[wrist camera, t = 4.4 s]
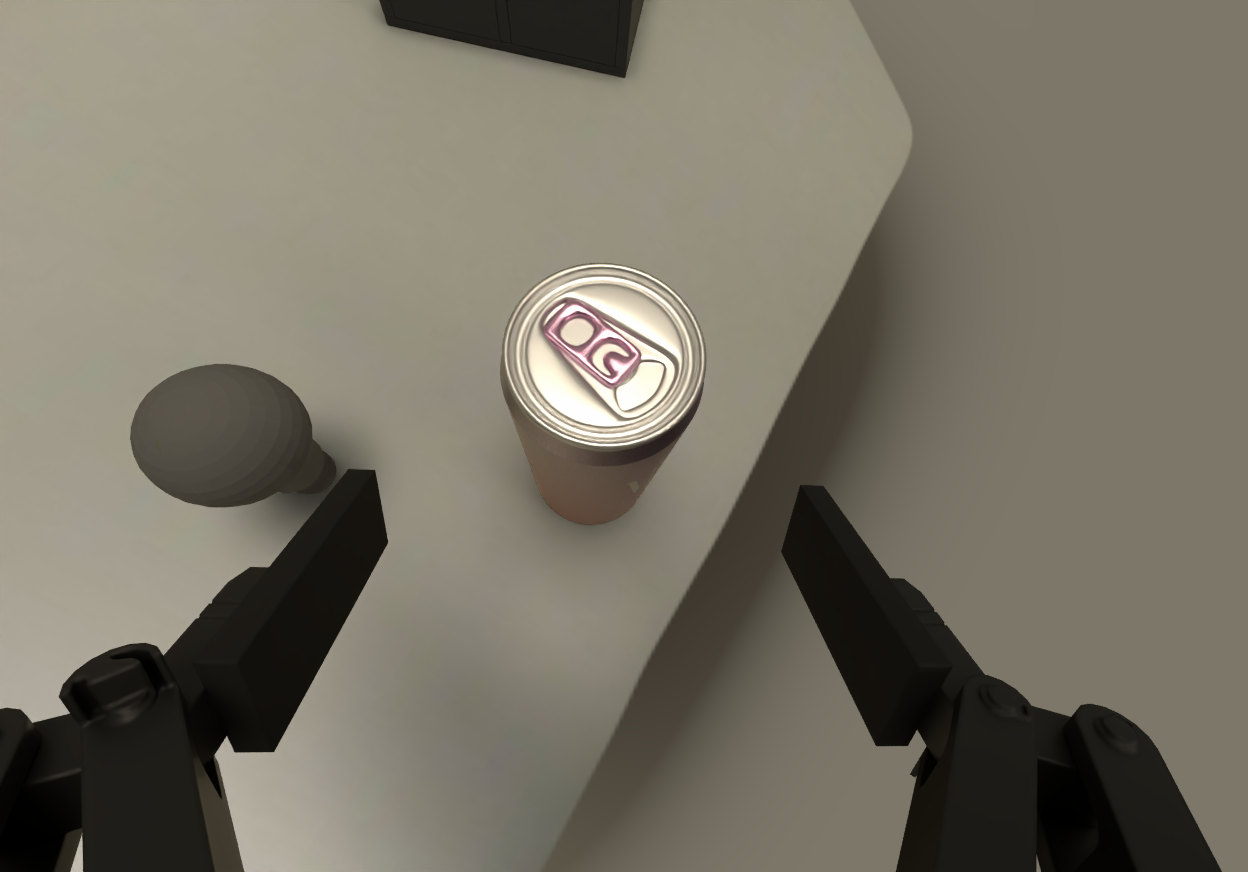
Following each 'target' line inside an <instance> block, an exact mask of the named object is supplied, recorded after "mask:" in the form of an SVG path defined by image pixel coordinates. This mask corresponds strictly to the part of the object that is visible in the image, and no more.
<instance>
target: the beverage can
mask: <svg viewBox="0 0 1248 872" xmlns="http://www.w3.org/2000/svg"><path fill="white" fill-rule="evenodd" d="M705 371H706V348H705V342H704V338H703V334H702V331H701V328H700V326H699V323H698V321H697V319H696V317H695V316H694V314H693V312H692V311H691V309H690V308H689V306H688V305H687V304H686V302H685V301H684V300H683V299H682V298H681V297H680V296H679V295H678V294H677V293H676V292H675V291H674V290H673V289H672V288H671V287H669V286H668V285H667V284H665V283H664V282H663V281H661V280H659V279H658V278H656V277H654V276H652V275H650V274H648V273H646V272H644V271H641V270H639V269H636V268H632V267H629V266H625V265H619V264H612V263H590V264H582V265H577V266H573V267H570V268H567V269H564V270H561V271H559V272H556V273H554V274H552V275H550V276H548V277H547V278H545V279H544V280H542V281H541V282H539V283H538V284H537V285H535V286H534V287H533V288H532V289H531V290H530V291H529V292H528V293H527V294H526V295H525V296H524V297H523V298H522V299H521V300H520V302H519V303H518V304H517V306H516V307H515V309H514V311H513V312H512V314H511V316H510V318H509V321H508V323H507V326H506V329H505V333H504V338H503V344H502V356H501V364H500V376H501V385H502V390H503V394H504V397H505V400H506V403H507V405H508V408H509V411H510V413H511V416H512V419H513V421H514V424H515V427H516V429H517V432H518V435H519V437H520V440H521V443H522V445H523V448H524V451H525V453H526V456H527V458H528V461H529V464H530V466H531V469H532V472H533V474H534V477H535V480H536V482H537V485H538V488H539V490H540V492H541V495H542V496H543V498H544V500H545V501H546V503H547V504H548V505H549V506H550V507H551V508H552V509H553V510H554V511H555V512H556V513H558V514H559V515H560V516H562V517H564V518H566V519H568V520H570V521H573V522H576V523H580V524H590V525H592V524H602V523H606V522H609V521H612V520H614V519H616V518H618V517H620V516H622V515H623V514H625V513H626V512H627V511H628V510H629V509H630V508H631V507H632V506H633V505H634V504H635V503H636V501H637V500H638V498H639V497H640V495H641V494H642V492H643V491H644V490H645V488H646V487H647V485H648V484H649V482H650V481H651V479H652V478H653V476H654V475H655V473H656V472H657V470H658V469H659V467H660V466H661V465H662V463H663V462H664V460H665V459H666V457H667V456H668V454H669V453H670V451H671V450H672V448H673V447H674V445H675V444H676V442H677V441H678V440H679V438H680V437H681V435H682V434H683V432H684V431H685V429H686V428H687V426H688V425H689V423H690V422H691V420H692V418H693V417H694V415H695V413H696V411H697V408H698V406H699V403H700V400H701V396H702V392H703V385H704V377H705Z"/></svg>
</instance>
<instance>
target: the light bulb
mask: <svg viewBox="0 0 1248 872" xmlns="http://www.w3.org/2000/svg"><path fill="white" fill-rule="evenodd" d="M130 440H131V445H132V450H133V454H134V457H135V459H136V461H137V464H138V466H139V468H140V469H141V470H142V471H143V473H144V474H145V475H146V476H147V478H148V479H149V480H150V481H151V482H152V483H154V484H155V485H156V486H157V487H159V488H160V489H162V490H163V491H164V492H166V493H168V494H169V495H171V496H173V497H175V498H178V499H180V500H182V501H185V502H188V503H192V504H197V505H202V506H207V507H234V506H241V505H247V504H252V503H254V502H257V501H260V500H263V499H265V498H267V497H269V496H271V495H273V494H275V493H277V492H282V493H292V492H297V493H303V494H315V493H318V492H321V491H322V490H324V489H325V488H327V487H328V486H329V485H330V484H331V482H332V481H333V479H334V476H335V472H336V466H335V463H334V461H333V459H332V458H331V457H330V456H329V455H328V454H327V453H325V452H324V451H322V449H321V448H320V446H319V445H318V444H317V442H316V441H314V440H313V439H312V424H311V421H310V417H309V414H308V412H307V410H306V408H305V407H304V405H303V403H302V402H301V400H300V399H299V397H298V396H297V395H296V394H295V393H294V392H293V391H292V390H291V388H289V387H288V386H286V385H285V384H284V383H282V382H281V381H279V380H278V379H276V378H275V377H273V376H271V375H269V374H266V373H264V372H261V371H259V370H256V369H253V368H248V367H244V366H238V365H230V364H213V365H205V366H199V367H195V368H191V369H188V370H185V371H181V372H179V373H177V374H175V375H173V376H171V377H169V378H167V379H166V380H164V381H163V382H161V383H160V384H158V385H157V386H156V387H154V388H153V389H152V390H151V391H150V392H149V393H148V394H147V395H146V396H145V398H144V399H143V400H142V402H141V403H140V405H139V407H138V409H137V410H136V412H135V415H134V419H133V422H132V426H131V436H130Z"/></svg>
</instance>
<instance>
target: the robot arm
mask: <svg viewBox="0 0 1248 872" xmlns="http://www.w3.org/2000/svg"><path fill="white" fill-rule="evenodd" d="M387 544H388V539H387V533H386V528H385V522H384V517H383V511H382V505H381V500H380V494H379V489H378V483H377V478H376V472H375V470H356V469H348V470H347V472H346V473H345V474H344V475H343V477H342V478H341V479H340V480H339V481H338V483H337V484H336V485H335V486H334V488H333V489H332V490H331V491H330V493H329V494H328V495H327V496H326V498H325V499H324V500H323V501H322V502H321V504H320V505H319V506H318V507H317V509H316V510H315V511H314V512H313V514H312V515H311V516H310V517H309V519H308V520H307V521H306V522H305V523H304V525H303V526H302V527H301V528H300V530H299V531H298V532H297V533H296V535H295V536H294V537H293V538H292V540H291V541H290V542H289V543H288V545H287V546H286V547H285V548H284V549H283V551H282V552H281V553H280V554H279V556H278V557H277V558H276V559H275V561H274V562H273V563H272V564H271V566H270V567H250V568H248V569H247V570H245V571H244V572H242V573H241V574H240V575H238V576H237V577H235V578H234V579H232V580H231V581H229V582H228V583H227V584H226V585H225V586H224V587H223V589H222V590H221V591H220V592H219V593H218V594H217V595H216V597H215V598H214V599H213V600H212V604H208V606H207V607H206V608H205V609H204V610H203V611H202V612H201V614H200V617H199V618H196V619H195V620H194V622H193V623H192V624H191V625H190V626H189V627H188V628H187V630H186V631H185V632H184V633H183V634H182V635H181V636H180V637H179V639H178V640H177V641H176V642H175V643H174V644H173V645H172V647H171V648H170V649H169V650H168V651H167V652H166V653H165V655H164V656H163V655H162V653H161V651H160V650H159V649H158V647H157V646H154V645H151V644H148V643H138V644H128V645H125V646H121V647H118V648H115V649H111V650H109V651H107V652H105V653H103V654H101V655H99V656H97V657H95V658H93V659H91V660H90V661H88V662H87V663H86V664H84V665H83V666H81V667H80V668H79V669H77V670H76V671H75V672H74V673H73V674H72V675H71V676H70V677H69V678H68V680H67V681H66V682H65V683H64V684H63V686H62V689H61V692H60V695H59V698H60V699H61V701H62V702H63V704H64V705H65V706H66V708H67V709H68V711H69V712H70V714H67V715H63V716H59V717H55V718H51V719H47V720H43V721H38V722H34V723H32V722H31V721H30V719H29V718H28V717H27V716H26V715H25V714H24V712H23V711H22V710H20V709H12V708H4V709H0V872H70V871H71V868H72V864H73V861H74V858H75V855H76V851H77V848H78V845H79V841H80V838H81V835H82V839H83V872H244V869H243V865H242V860H241V856H240V852H239V848H238V844H237V839H236V835H235V831H234V827H233V823H232V818H231V814H230V810H229V806H228V802H227V797H226V793H225V789H224V785H223V781H222V776H221V772H220V768H219V764H218V761H217V760H216V758H215V756H214V755H215V753H216V752H217V750H218V749H219V747H220V745H221V744H222V742H223V741H224V739H225V738H226V736H227V737H228V739H229V741H230V743H231V745H232V747H233V749H234V752H274V751H275V749H276V747H277V746H278V744H279V742H280V740H281V738H282V736H283V735H284V733H285V731H286V729H287V727H288V725H289V724H290V722H291V720H292V718H293V716H294V714H295V713H296V711H297V709H298V707H299V705H300V703H301V702H302V700H303V698H304V696H305V694H306V692H307V691H308V689H309V687H310V685H311V683H312V681H313V680H314V678H315V676H316V674H317V672H318V670H319V669H320V667H321V665H322V663H323V661H324V659H325V658H326V656H327V654H328V652H329V650H330V648H331V647H332V645H333V643H334V641H335V639H336V637H337V636H338V634H339V632H340V630H341V628H342V626H343V625H344V623H345V621H346V619H347V617H348V615H349V614H350V612H351V610H352V608H353V606H354V604H355V603H356V601H357V599H358V597H359V595H360V593H361V592H362V590H363V588H364V586H365V584H366V582H367V580H368V579H369V577H370V575H371V573H372V571H373V569H374V568H375V566H376V564H377V562H378V560H379V558H380V557H381V555H382V553H383V551H384V549H385V547H386V546H387ZM781 552H782V554H783V557H784V558H785V561H786V563H787V565H788V567H789V569H790V571H791V573H792V575H793V577H794V579H795V581H796V583H797V585H798V587H799V589H800V591H801V593H802V595H803V597H804V600H805V602H806V604H807V606H808V608H809V609H810V612H811V614H812V616H813V618H814V620H815V622H816V624H817V626H818V628H819V630H820V632H821V634H822V636H823V638H824V640H825V642H826V644H827V646H828V649H829V651H830V653H831V654H832V657H833V659H834V661H835V663H836V665H837V667H838V669H839V671H840V673H841V675H842V677H843V679H844V681H845V683H846V685H847V687H848V689H849V692H850V694H851V695H852V698H853V700H854V701H855V704H856V706H857V708H858V710H859V712H860V714H861V716H862V718H863V720H864V722H865V724H866V726H867V728H868V730H869V733H870V735H871V736H872V739H873V741H874V743H875V745H876V746H908V745H909V743H910V741H911V739H912V738H913V736H914V734H915V732H916V730H918V732H919V733H920V735H921V737H922V739H923V740H924V742H925V744H926V746H927V747H926V748H925V750H924V752H923V754H922V755H921V757H920V758H919V760H918V762H917V763H916V765H915V767H914V768H913V770H912V772H911V774H910V775H912V776H914V777H916V776H917V778H916V783H915V787H914V792H913V796H912V801H911V806H910V810H909V815H908V819H907V824H906V828H905V833H904V837H903V842H902V846H901V851H900V856H899V860H898V865H897V870H896V872H1036V854H1037V857H1038V861H1039V865H1040V868H1041V872H1222V871H1221V869H1220V867H1219V865H1218V864H1217V862H1216V860H1215V858H1214V856H1213V854H1212V852H1211V850H1210V848H1209V846H1208V844H1207V842H1206V840H1205V839H1204V837H1203V835H1202V833H1201V831H1200V829H1199V827H1198V825H1197V823H1196V821H1195V819H1194V818H1193V816H1192V814H1191V812H1190V810H1189V808H1188V806H1187V804H1186V802H1185V800H1184V798H1183V797H1182V794H1181V793H1180V791H1179V789H1178V787H1177V785H1176V783H1175V781H1174V779H1173V777H1172V775H1171V773H1170V772H1169V770H1168V768H1167V766H1166V764H1165V762H1164V760H1163V758H1162V756H1161V754H1160V753H1159V751H1158V749H1157V747H1156V746H1155V745H1154V743H1153V742H1152V740H1151V739H1150V738H1149V736H1148V735H1147V734H1145V733H1144V732H1143V731H1142V730H1141V729H1140V728H1139V727H1138V726H1137V725H1136V724H1134V723H1133V722H1131V721H1130V720H1128V719H1127V718H1125V717H1124V716H1122V715H1121V714H1119V713H1117V712H1115V711H1112V710H1110V709H1108V708H1106V707H1103V706H1098V705H1094V704H1085V705H1081V706H1080V707H1079V708H1078V709H1077V710H1076V712H1075V713H1074V714H1073V715H1072V717H1069V716H1066V715H1062V714H1059V713H1055V712H1052V711H1048V710H1045V709H1041V708H1037V707H1034V706H1031V705H1030V703H1029V702H1028V701H1027V699H1026V698H1025V697H1024V696H1023V695H1021V694H1020V693H1019V692H1018V691H1017V690H1016V689H1015V688H1013V687H1011V686H1010V685H1008V684H1007V683H1005V682H1003V681H1002V680H999V679H997V678H994V677H991V676H988V675H985V674H984V673H983V672H982V670H981V669H980V668H979V667H978V665H977V664H976V663H975V661H974V660H973V659H972V658H971V656H970V655H969V653H968V652H967V651H966V650H965V648H964V647H963V646H962V644H961V643H960V642H959V641H958V639H957V638H956V637H955V635H954V634H953V633H952V631H951V630H950V629H949V628H948V626H945V625H944V621H943V620H942V619H941V617H940V616H939V615H938V613H937V612H934V608H933V607H932V606H931V604H930V603H929V602H928V600H927V599H926V598H925V596H923V594H922V593H921V592H920V591H919V590H917V589H916V588H915V587H913V586H912V585H911V584H910V583H909V582H907V581H906V580H905V579H898V578H897V579H895V578H889V576H888V575H887V574H886V572H885V571H884V569H883V568H882V567H881V565H880V564H879V562H878V561H877V560H876V558H875V557H874V556H873V554H872V553H871V551H870V550H869V549H868V547H867V546H866V544H865V543H864V542H863V540H862V539H861V538H860V536H859V535H858V534H857V532H856V531H855V529H854V528H853V526H852V525H851V524H850V522H849V521H848V520H847V518H846V517H845V515H844V514H843V513H842V511H841V510H840V508H839V507H838V506H837V504H836V503H835V502H834V500H833V499H832V497H831V496H830V495H829V493H828V492H827V490H826V489H825V488H824V487H823V486H811V485H800V488H799V492H798V495H797V499H796V502H795V505H794V509H793V512H792V516H791V519H790V523H789V526H788V530H787V533H786V537H785V540H784V544H783V548H782V551H781Z"/></svg>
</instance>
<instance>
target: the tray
mask: <svg viewBox="0 0 1248 872" xmlns="http://www.w3.org/2000/svg"><path fill="white" fill-rule="evenodd" d="M379 1H380V4H381V7H382V10H383V13H384V15H385V19H386V22H387V24H388V25H392V26H396V27H401V28H405V29H410V30H414V31H419V32H423V33H428V34H432V35H437V36H441V37H446V38H450V39H455V40H459V41H464V42H468V43H473V44H477V45H482V46H486V47H491V48H495V49H500V50H504V51H509V52H513V53H518V54H522V55H527V56H531V57H536V58H540V59H545V60H549V61H554V62H558V63H563V64H567V65H572V66H576V67H581V68H585V69H590V70H594V71H599V72H603V73H608V74H612V75H617V76H621V77H625V76H626V72H627V68H628V64H629V59H630V55H631V51H632V47H633V43H634V39H635V35H636V31H637V26H638V22H639V18H640V14H641V10H642V6H643V2H644V0H379Z"/></svg>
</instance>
